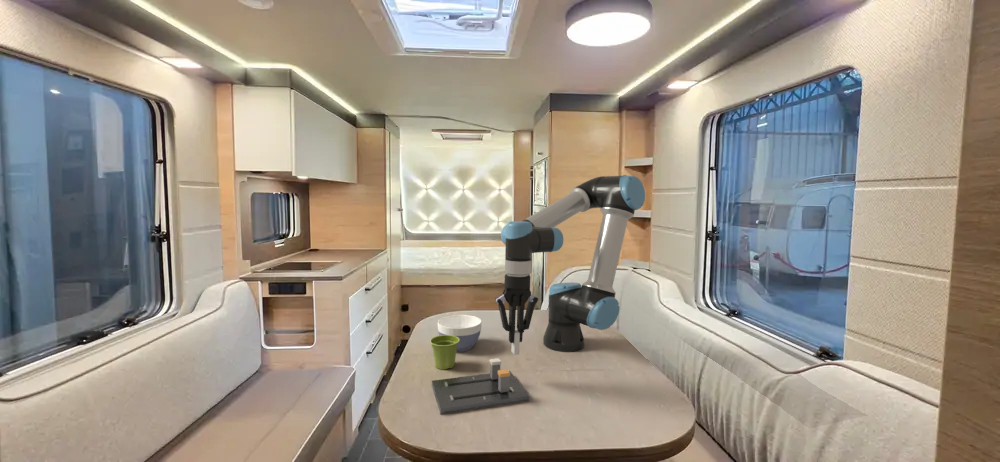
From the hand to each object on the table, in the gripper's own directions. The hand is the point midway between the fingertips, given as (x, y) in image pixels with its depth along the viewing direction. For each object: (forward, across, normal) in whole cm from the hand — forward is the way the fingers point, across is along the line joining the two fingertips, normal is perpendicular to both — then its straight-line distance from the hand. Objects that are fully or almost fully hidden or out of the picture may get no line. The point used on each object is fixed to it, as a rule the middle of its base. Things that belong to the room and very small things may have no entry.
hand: (515, 352), depth 119 cm
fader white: (+7, +6, 0) cm, 9 cm away
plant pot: (+9, +18, -17) cm, 26 cm away
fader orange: (+7, +6, +8) cm, 12 cm away
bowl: (+9, +10, -32) cm, 34 cm away
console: (+9, +12, +4) cm, 15 cm away
